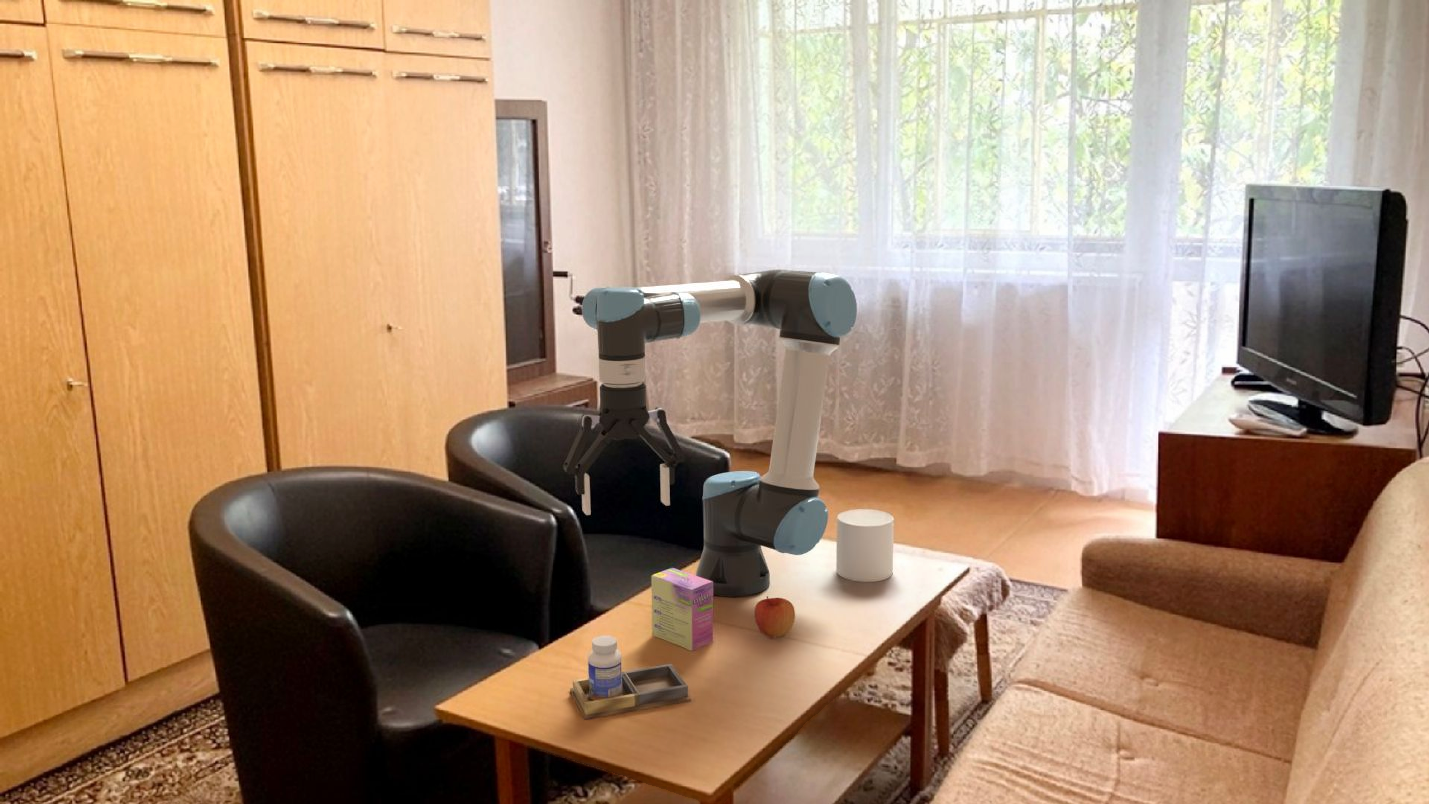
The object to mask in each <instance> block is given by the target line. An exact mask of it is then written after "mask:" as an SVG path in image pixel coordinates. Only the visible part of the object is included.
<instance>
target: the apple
mask: <svg viewBox="0 0 1429 804" xmlns="http://www.w3.org/2000/svg"><path fill="white" fill-rule="evenodd" d="M795 618H796V610H795V607H794V604H793V603H792V602H791V601H789V600H787V599H786V598H783V597H771V598H769V596H766V598H765V599H761V600H760V601H758V602H757V604H756V605H755V608H754V620H755V621H754V622H755V624H756V626H757V628H758V630H759V631H760V632H761V633H762V634H763V635H764V636H766V637H767V638H768V639H770V640H772V639H776V638H778V637H785V636H786V635H787V634H789V632H790V631H791V629H792V627H793V626H794V623H795Z"/></svg>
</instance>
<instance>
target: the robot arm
mask: <svg viewBox="0 0 1429 804" xmlns="http://www.w3.org/2000/svg"><path fill="white" fill-rule="evenodd" d="M857 304H858V303H857V298H856V295H855V292H854V290H853V289H852V286H851V284H850V283H849V281H847V280H846V279H845V278H844V277H842V276H840V275H838V274H832V273H828V272H827V273H826V272H824V271H823V272H821V271H803V270H789V269H768V270H763V271H755V272H749V273H743V274H732V275H730V276H728V277H726V279H724V280H721V281H708V282H707V281H706V282H695V283H693V282H691V283H679V284H678V283H677V284H666V285H665V284H663V285H650V286H638V287H635V286H612V287H609V286H604V287H594V288H592V289H591V290H589V291H588V292H587V293H586V294H585V296H584V298H583V300H582V303H581V315H582V318H583V320H584V322H585V324H587V326H589V327H590V328H592V329H594V330H597V347H598V375H599V376H598V377H599V379H598V380H599V381H600V383H602V384H600V386H599V406H600V407H599V408H600V409H599V410H600V411H599V413H598V415H588V413H582V415H581V417H580V428H579V430H578V431H577V434H576V436H575V437H574V438H575V439H574V441H573V443H572V445H571V448H570V450H569V452H568V454H567V456H566V458H565V460H564V463H563V467H562V468H563V470H564V471H565V472H566V473H567V474H569V475H574V483H575V491H576V493H577V495H578V496H579V495H580V496H581V508H582V512H583V513H584V514H585V515H586V516H590V515H591V512H592V511H591V486H590V475H589V474H588V473H587V472H588V471H589V469H590V467H592V465H593V464H594V463H595V461H597V459H598V457H599V456H600V454H601V453H602V451H603V450H604V449H605V448H606V447H607V445H609V444H610V443H611V441H612V440H615V441H622V440H625V439H628V440H636V438H637V437H638V436H640V437H641V439H642V440H644V442H645V443H646V444H647V445H648V446H649V447H650V448H651V449H652V450H653V451H654V452H655V453H656V454H657V456H658V457H659V458H660V459H661V460H663V462H664V463H661V464H659V471H660V472H659V473H660V474H659V476H660V477H659V481H660V502H661V503H662V504H663V505H665V506H666V507H667V506H671V501H670V500H671V499H670V498H671V497H670V492H671V491H670V485H674V484H675V481H676V477H675V476H676V475H675V470H676V469H675V468H676V467H677V465H678V463H683V462H685V460H686V456H685V454H684V452H683V450H682V448H681V446H680V444H679V442H678V441H677V439H676V437H675V435H674V433H673V431H672V429H671V427H670V426H669V424H668V422H667V414H666V411H665V410H664V409H663V408H661V407H659V406H656V407H654V409H651V410H648V409H647V387H646V384H645V383H644V381H645V380H646V344H649V343H653V342H659V341H666V340H673V339H674V340H675V339H677V340H678V339H681V338H683V337H686V336H689V335H693V334H694V333H695V332H696V331H697V329H698V328H699V326H700V324H704V323H712V322H713V323H714V322H725V321H727V322H729V323H731V324H733V325H743V324H744V325H745V324H746V325H756V326H761V327H766V328H772V329H776V330H777V329H778V330H779V337H778V339H779V340H780V342H781V344H783V347H784V348H785V352H784V360H783V365H782V372H781V373H782V374H781V381H780V387H779V393H778V394H779V395H778V396H779V397H778V400H777V401H778V402H777V410H776V417H775V424H774V431H773V438H772V439H773V440H772V445H771V454H770V461H769V468H768V471H767V472H766V473H764V474H763V475H762V476H761V474H760V473H759V472H756V471H752V470H751V471H750V470H741V471H740V470H738V471H728V472H722V473H718V474H715V475H712V476H709V477H708V478H706V480H705V481H704V483H703V490H702V491H703V492H702V494H703V495H702V498H701V499H702V522H703V523H702V524H703V525H702V526H703V548H702V549H703V550H702V553H701V555H700V559H699V562H698V565H697V568H696V571H695V576H698V577H701V578H704V579H707V580H710V581H713V596H717V597H718V596H719V597H734V598H735V597H745V596H752V595H756V594H758V593H760V592H763V591H765V590H766V589H767V588H768V587H769V586H770V584H771V583H770V582H771V581H770V580H771V577H770V574H771V573H770V570H769V569H770V568H769V566H768V563H767V560H766V558H765V555H764V552H763V549H762V547H764V548H768V549H771V550H774V551H776V552H778V553H781V554H789V555H793V556H802V555H805V554H807V553H809V552H810V551H812V550H813V549H815V547H816V545H817V544H819V543H820V541H821V540H822V538H823V536H824V534H825V532H826V530H827V529H826V528H827V525H828V520H829V510H828V509H827V505H826V503H825V501H823V500H822V499H821V498H820V497H819V493H820V492H819V491H820V485H819V484H818V483H817V481H816V480H815V477H814V473H815V465H816V464H815V463H816V460H817V459H816V457H817V451H818V443H819V436H820V429H821V421H822V415H823V407H824V400H825V394H826V393H825V392H826V385H827V378H828V371H829V365H830V357H831V354H832V353H833V352H834V351H836V350H837V349H838V348H840V342H841V338H842V337H845V336H846V335H849V333H850V332H851V331H852V328H853V327H854V326H855V324H856V320H857V314H858V305H857ZM650 419H651V421H653V422H654V423H655V424H657V427H658V429H659V430H660V432H661V435H662V437H663V438H664V440H665V441H666V443H667V445H668V447H669V449H670V450H671V453H672V455H669V453H668V452H667V451H666V450H665V449H664V447H662V445H660V444H659V442H657V440H656V439H655V438H654V437H653V436H652V435H651V434H650V433H649V432H648V430H646V428H645V427H646V425H647V424H648V422H649V420H650ZM597 424H599V425H600V426H601V427H602V429H601V430H600V432H599V433H598V435H597V438H595V440H594V441H593V442H592V444H591V446H590V447H589V448H588V449H587V450H586V452H585V453H584V454H583V456H582V457H581V455H582V453H583V451H584V448H585V446H586V444H587V442H588V440H589V438H590V436H591V432H592V430H593V429H595V427H596V425H597Z"/></svg>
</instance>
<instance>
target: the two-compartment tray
mask: <svg viewBox="0 0 1429 804" xmlns="http://www.w3.org/2000/svg"><path fill="white" fill-rule="evenodd" d="M569 691H570V693H571V696H572V697H573V699H574V701H575V703H576V706H577V707H578V709H579V711H580V713H581V715H582V718H584V720H591V719H597V718H601V717H607V716H613V715H618V714H619V715H620V714H624V713H630V712H635V711H642V710H646V709H652V708H657V707H663V706H669V705H674V704H675V705H676V704H680V703H681V704H682V703H686V702H691V701H692V697H691V695H690V694H689V692H688V691H689V689H688V685H687V684H686V682H685V681H684V680H683V678H682V677H681V675H680V674H679V673H678V671H677V670H676V669H675V667H674V666H673V665H672V663H668V664H663V665H655V666H649V667H643V668H639V669H632V670H625V671H622V696H618V697H612V698H606V699H601V700H595V701H593V700H592V699H591V698H590V695H589V677H583V678H578V679H573V680H572V688H570V689H569Z"/></svg>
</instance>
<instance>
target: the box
mask: <svg viewBox="0 0 1429 804" xmlns="http://www.w3.org/2000/svg"><path fill="white" fill-rule="evenodd" d="M650 578H651V579H650V580H651V624H652V625H651V629H652V630H651V633H652V636H654V637H656V638H659V639H661V640H664V641H667V642H669V643H672V644H674V645H677V646H680V647H682V648H684V649H686V650H689V651H691V652H694V651H696V650H699V649H701V648H703V647H705V646H708V645H710V644H712V643H713V642H714V595H713V581H710V580H707V579H704V578H701V577H698V576H696V574H695V575H694V574H692V573H688V572H685V571H682V570H680V569H678V568H675V567H670V568H668V569H665V570H662V571H659V572H657V573H654V574H652V575H651V577H650Z"/></svg>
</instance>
